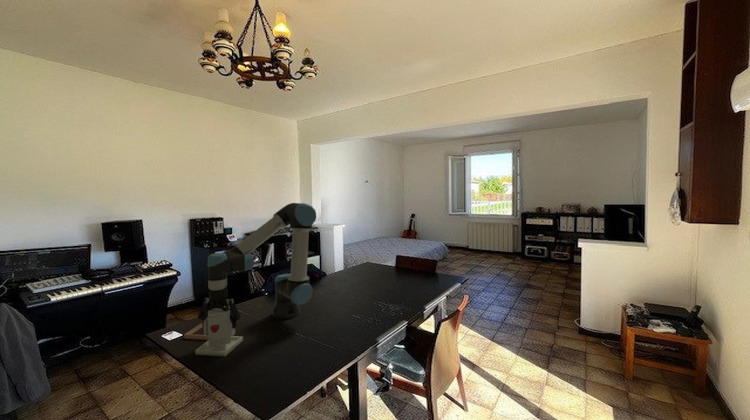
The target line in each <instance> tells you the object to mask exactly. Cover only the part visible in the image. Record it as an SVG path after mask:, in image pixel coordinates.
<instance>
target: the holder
mask: <svg viewBox="0 0 750 420" xmlns="http://www.w3.org/2000/svg"><path fill="white" fill-rule="evenodd" d="M202 328H204V327H203V326H202V322H201V323H199V324H198V325H197V326H195V327H193V328H192V329H191V330H189V331H188V332H186V333H184V335H183V339H188V340H189V339H191V340H204V341H205V340H206V341H208V334H206V335H204V334H194V333H196V332H198V331H199V330H200V329H202Z"/></svg>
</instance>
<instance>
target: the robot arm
mask: <svg viewBox="0 0 750 420" xmlns="http://www.w3.org/2000/svg"><path fill="white" fill-rule="evenodd" d="M316 221H317V211H316V209H315V208H314V207H313V206H312V205H311V204H308V203H304V202H301V203H300V202H291V203H288V204H286V205H285V206H283V207H281V208H280V209H279V210H277V211H276V212H275V213H274V214H273V215H272V217H271V218H269V220H268V221H267V222H265V223H264V224H262V225H261V226H260V227H258V228H257V229H255V231H253V232H252V233H251V234H249V235H248V236H247V237H245V238H244V239H243V240H240V242H239V243H238V244H236V245H235V246H233V247H232V248H230V249H227V250H224V251H223V252H219V253H217V252H216V253H212V254H209V255H208V256H207V266H206V267H207V276H208V277H207V278H208V279H207V282H208V285H207V287H208V296H207V297H204V298H203V299H202V305H201V307H200V310H199V312H198V315H197V319H198V320H199V319H200V320H201V323H202V326H203V327H202V328H203V335H208V310H212V309H213V308H214V309H216V308H218V309H222V310H223V311H228V310H230V336H235V334H236V328H237V321H239V320H240V319H241V315H240V312H239V310H238V307H237V306H236V303H235V298H228V287H227V286H228V274H232V273H238V272H243V271H248V270H251V269H253V268H254V265H255V260H254V259H255V258H254V256H253V255H252V254H251V253H252V252H253V251H255V249H257V248H258V247H259V246H261V245H262V244H263V243H264V242H265V243H266V241H267V240H269V239H270V238H271V237H272V236H274V235H275V233H277V232H278V231H280V230H281V229H285V228H287V227H288V226H289V229H290V230H291V231H292V238H291V239H292V240H291V258H290V259H291V261H290V273H283V274H279V275H277V276H276V277H275V279H274V286H275V287H274V291H275V293H274V294H275V303H274V306H273V309H272V317H273V318H275V319H278V320H280V319H281V320H286V319H292V318H295V317H297V316H298V315H300V313H301V308H300V306H301V305H304V304H306V303H308V302H309V300H310V299H311V298H312V296H313V287H312V285H311V284H310V276H308V275H307V274H308V273H307V272H308V258H309V257H308V256H309V254H308V253H309V234H310V231H311V230H312V228H313V224H314V223H315V222H316ZM209 304H210V305H209ZM208 305H209V307H208ZM224 306H225V307H224ZM229 307H230V308H229ZM207 308H208V309H207Z"/></svg>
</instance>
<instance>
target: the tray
mask: <svg viewBox="0 0 750 420" xmlns="http://www.w3.org/2000/svg"><path fill="white" fill-rule="evenodd" d="M243 341H244V336H237V335H236V336H235V335H233V336H231V343H229V344H225V345H220V346H215V347H210V348H209V343H208V340H206V341H205V342H204V344H202V345H200V346H199V347H198V348H196V349H195V351H194V353H195V355H197V356H213V357H226V356H228V354H229V353H231V352H232V351H233V350H234V349H235V348H236V347H237V346H238V345H240V344H241V343H242V342H243Z"/></svg>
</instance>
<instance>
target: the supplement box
mask: <svg viewBox="0 0 750 420" xmlns="http://www.w3.org/2000/svg"><path fill="white" fill-rule="evenodd" d="M224 307H225V306H224ZM229 308H230V307H229ZM207 310H208V309H207ZM230 322H231V320H230V310H228V311H223V310H222V309H218V308H216V309H214V308H213V309H212V310H208V333H207V335H208V340H207V341H208V343H209V348H210V347H215V346H220V345H225V344H229V343H231V336H230Z"/></svg>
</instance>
